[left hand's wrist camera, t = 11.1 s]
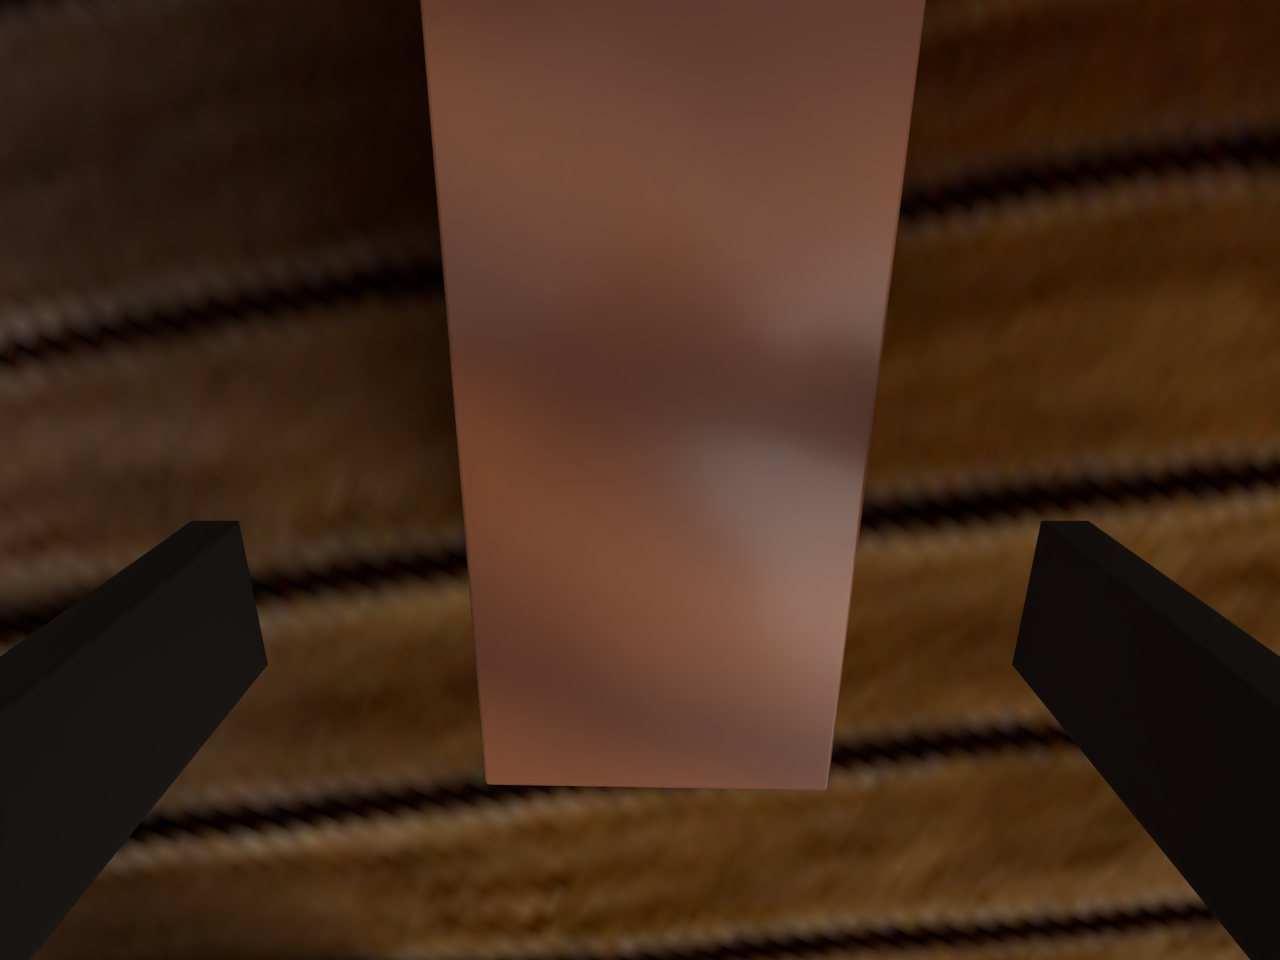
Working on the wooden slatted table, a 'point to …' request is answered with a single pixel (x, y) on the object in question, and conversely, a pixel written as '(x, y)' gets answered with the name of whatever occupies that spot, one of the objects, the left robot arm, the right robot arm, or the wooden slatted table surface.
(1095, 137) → the wooden slatted table surface
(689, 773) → the cabinet
